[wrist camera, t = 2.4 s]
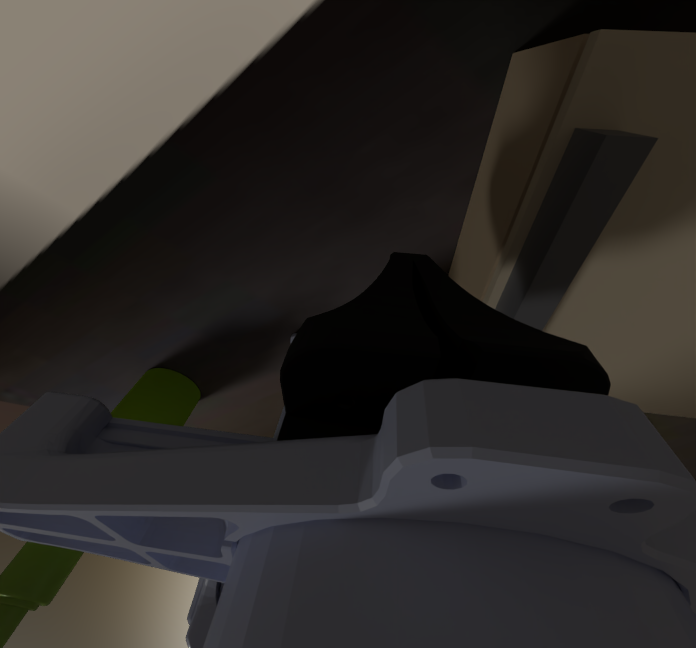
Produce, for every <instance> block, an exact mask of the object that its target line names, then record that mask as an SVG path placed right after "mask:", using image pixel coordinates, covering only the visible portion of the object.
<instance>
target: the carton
mask: <svg viewBox="0 0 696 648" xmlns="http://www.w3.org/2000/svg"><path fill="white" fill-rule="evenodd" d="M589 35H590V34H582V35H578V36H574V37H571V38H567V39H563V40H560V41H556V42H552V43H549V44H545V45H541V46H538V47H534V48H530V49H527V50H523V51H519V52H516V53H513V55H512V58H511V62H510V65H509V69H508V72H507V75H506V79H505V82H504V86H503V89H502V93H501V96H500V99H499V103H498V106H497V110H496V113H495V117H494V120H493V124H492V127H491V130H490V134H489V137H488V141H487V144H486V148H485V151H484V154H483V158H482V161H481V165H480V168H479V172H478V175H477V179H476V182H475V185H474V189H473V192H472V196H471V199H470V203H469V206H468V209H467V213H466V216H465V220H464V223H463V227H462V230H461V234H460V237H459V240H458V244H457V247H456V251H455V254H454V258H453V261H452V265H451V268H450V271H449V275H448V276H449V277H450V278H451V279H452V280H454V281H455V282H456V283H457V284H458V285H460V286H461V287H462V288H463V289H465V290H466V291H467V292H468V293H470V294H471V295H473V296H474V297H476V298H477V299H479V300H480V301H482V302H483V299H484V297H485V294H486V292H487V289H488V287H489V284H490V282H491V279H492V277H493V274H494V272H495V269H496V267H497V264H498V262H499V259H500V257H501V254H502V252H503V249H504V247H505V244H506V242H507V239H508V237H509V234H510V232H511V229H512V227H513V225H514V222H515V220H516V217H517V215H518V212H519V210H520V207H521V205H522V202H523V200H524V197H525V195H526V192H527V190H528V187H529V185H530V182H531V180H532V177H533V175H534V172H535V170H536V167H537V165H538V162H539V160H540V157H541V155H542V152H543V150H544V147H545V145H546V142H547V140H548V137H549V135H550V132H551V130H552V127H553V125H554V122H555V120H556V117H557V115H558V112H559V110H560V107H561V105H562V102H563V100H564V97H565V95H566V92H567V90H568V87H569V85H570V82H571V80H572V77H573V75H574V72H575V70H576V67H577V65H578V62H579V60H580V57H581V55H582V52H583V50H584V47H585V45H586V42H587V40H588V37H589Z"/></svg>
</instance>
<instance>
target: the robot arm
mask: <svg viewBox="0 0 696 648" xmlns="http://www.w3.org/2000/svg"><path fill="white" fill-rule="evenodd" d="M290 341H291V345H290V347H289V349H288V352H287V354H286V357H285V359H284V362H283V365H282V367H281V370H280V383H281V389H282V394H283V400H284V408H283V411H282V414H281V417H280V420H279V423H278V426H277V429H276V432H275V435H274V438H269V437H261V436H253V435H246V434H238V433H230V432H222V431H215V430H207V429H199V428H192V427H184V426H176V425H169V424H161V423H153V422H146V421H138V420H130V419H122V418H115V417H112V415H111V413H110V412H109V410H108V409H107V407H106V406H105V405H104V404H103V403H101V402H100V401H98V400H96V399H94V398H91V397H88V396H81V395H73V394H65V393H57V392H46V393H45V394H44V395H43V396H42V397H41V398H40V399H38V400H37V401H36V402H35V403H34V404H33V405H32V406H31V407H29V408H28V409H27V410H26V411H25V412H24V413H23V414H22V415H20V416H19V417H18V418H17V419H16V420H15V421H14V422H13V423H11V424H10V425H9V426H8V427H7V428H6V429H5V430H3V431H2V432H1V433H0V531H1V532H3V533H5V534H7V535H9V536H12V537H14V538H16V539H18V540H22V541H28V542H33V543H39V544H45V545H51V546H56V547H62V548H67V549H72V550H77V551H82V552H87V553H92V554H97V555H101V556H106V557H110V558H115V559H120V560H124V561H129V562H133V563H138V564H142V565H146V566H151V567H155V568H159V569H164V570H169V571H173V572H177V573H181V574H186V575H190V576H195V577H199V582H198V585H197V588H196V592H195V595H194V598H193V601H192V605H191V607H190V610H189V613H188V617H187V620H188V623H189V625H190V626H189V629H188V632H187V635H186V642H187V645H188V648H696V481H695V479H694V478H693V477H692V476H691V474H690V473H689V472H688V470H687V469H686V468H685V466H684V465H683V464H682V463H681V461H680V460H679V459H678V457H677V456H676V455H675V453H674V452H673V451H672V450H671V448H670V447H669V446H668V444H667V443H666V442H665V440H664V439H663V438H662V437H661V435H660V434H659V433H658V431H657V430H656V429H655V427H654V426H653V425H652V424H651V422H650V421H649V420H648V418H647V417H646V416H645V414H644V413H643V412H642V410H641V409H640V408H639V407H638V405H636V404H633V403H630V402H626V401H623V400H620V399H617V398H614V397H611V396H608V395H609V391H610V386H611V383H610V380H609V376H608V374H607V372H606V371H605V370H604V368H603V367H602V366H601V364H600V363H599V362H598V360H597V359H596V358H595V356H594V355H593V354H592V352H591V351H590V349H589V348H588V347H587V346H586V345H583V344H580V343H577V342H574V341H571V340H567V339H564V338H561V337H558V336H555V335H552V334H549V333H546V332H544V331H541V330H539V329H536V328H534V327H531V326H529V325H526V324H524V323H522V322H519V321H517V320H515V319H513V318H511V317H509V316H507V315H505V314H503V313H501V312H499V311H497V310H495V309H493V308H492V307H490V306H488V305H486V304H485V303H483V302H482V301H480V300H479V299H477V298H476V297H474V296H473V295H471V294H470V293H468V292H467V291H466V290H465V289H463V288H462V287H461V286H460V285H458V284H457V283H456V282H455V281H454V280H452V279H451V278H450V277H449V276H448V275H447V274H446V273H445V272H444V271H443V270H442V269H441V268H440V267H439V266H438V265H437V264H436V263H435V262H434V261H433V260H432V259H431V258H430V257H428V256H427V255H421V254H409V253H397V252H394V253H392V254H391V255H390V260H389V262H388V263H387V265H386V267H385V268H384V270H383V271H382V273H381V274H380V275H379V276H378V278H377V279H376V280H375V281H374V282H373V283H372V284H371V285H370V286H369V287H368V288H367V289H366V290H365V291H364V292H363V293H361V294H360V295H359V296H357V297H356V298H355V299H353V300H352V301H350V302H348V303H346V304H344V305H342V306H340V307H338V308H336V309H334V310H331V311H328V312H325V313H322V314H319V315H316V316H313V317H309V318H307V319H306V320H305V322H304V323H303V325H302V326H301V328H300V329H299V331H298V333H294V334H292V336H291V339H290Z"/></svg>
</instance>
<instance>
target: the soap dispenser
mask: <svg viewBox="0 0 696 648" xmlns="http://www.w3.org/2000/svg"><path fill="white" fill-rule="evenodd" d="M200 397H201V393H200V390H199V388H198V387H197V386H196V384H195V383H194V382H193V381H191V380H190V379H189V378H187V377H186V376H184V375H182V374H180V373H178V372H176V371H173V370H169V369H165V368H153V369H150V370H148V371H147V372H146V373H145V374H144V375H143V376H142V377H141V379H140V380H139V381H138V382H137V383H136V384H135V386H134V387H133V388H132V389H131V390H130V391H129V392H128V394H127V395H126V396H125V397H124V398H123V399H122V401H121V402H120V403H119V404H118V405H117V406H116V408H115V409H114V410H113V411H112V412H111V415H112V417H115V418H122V419H130V420H138V421H146V422H153V423H161V424H169V425H176V426H183V425H184V424H185V422H186V421H187V419H188V417H189V416H190V414H191V412H192V411H193V409H194V408H195V406H196V404H197V403H198V401H199V399H200ZM83 553H84V552H82V551H77V550H72V549H67V548H62V547H56V546H51V545H45V544H39V543H33V542H28V541H27V543H26V544H25V545H24V546H23V547H22V549H21V550H20V551H19V553H18V554H17V555H16V556H15V558H14V559H13V560H12V561H11V563H10V564H9V565H8V566H7V567H6V569H5V570H4V571H3V572H2V574H1V575H0V648H3V646H4V645H5V643H6V642H7V640H8V639H9V637H10V636H11V635H12V633H13V632H14V630H15V629H16V627H17V626H18V625H19V623H20V622H21V620H22V619H23V617H24V616H25V614H26V613H27V612H28V610H33V611H35V610H36V609H37V608H38V607H39V605H41V606H47V605H49V604H50V602H51V601H52V600H53V598H54V596H55V595H56V594H57V592H58V591H59V589H60V588H61V586H62V585H63V583H64V582H65V580H66V578H67V577H68V575H69V574H70V573H71V571H72V570H73V568H74V566H75V565H76V564H77V562H78V560H79V559H80V557H81V556H82V554H83Z"/></svg>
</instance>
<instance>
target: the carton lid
mask: <svg viewBox="0 0 696 648" xmlns="http://www.w3.org/2000/svg"><path fill="white" fill-rule="evenodd" d="M483 303H485V304H486V305H488V306H490V307H492V308H493V309H495V310H497V311H499V312H501V313H503V314H505V315H507V316H509V317H511V318H513V319H515V320H517V321H519V322H522V323H524V324H526V325H529V326H531V327H534V328H536V329H539V330H541V331H544V332H546V333H549V334H552V335H555V336H558V337H561V338H564V339H567V340H571V341H574V342H577V343H580V344H583V345H586V346H587V347H588V348H589V349H590V351H591V352H592V354H593V355H594V356H595V358H596V359H597V360H598V362H599V363H600V364H601V366H602V367H603V368H604V370H605V371H606V372H607V374H608V376H609V380H610V383H611V386H610V391H609V395H608V396H611V397H614V398H617V399H620V400H623V401H626V402H630V403H633V404H636V405H638V407H639V408H640V409H641V410H642V412H646V413H654V414H663V415H671V416H680V417H689V418H696V33H692V32H664V31H636V30H609V29H600V30H597V31H593V32H590V35H589V37H588V40H587V42H586V45H585V47H584V50H583V52H582V55H581V57H580V60H579V62H578V65H577V67H576V70H575V72H574V75H573V77H572V80H571V82H570V85H569V87H568V90H567V92H566V95H565V97H564V100H563V102H562V105H561V107H560V110H559V112H558V115H557V117H556V120H555V122H554V125H553V127H552V130H551V132H550V135H549V137H548V140H547V142H546V145H545V147H544V150H543V152H542V155H541V157H540V160H539V162H538V165H537V167H536V170H535V172H534V175H533V177H532V180H531V182H530V185H529V187H528V190H527V192H526V195H525V197H524V200H523V202H522V205H521V207H520V210H519V212H518V215H517V217H516V220H515V222H514V225H513V227H512V229H511V232H510V234H509V237H508V239H507V242H506V244H505V247H504V249H503V252H502V254H501V257H500V259H499V262H498V264H497V267H496V269H495V272H494V274H493V277H492V279H491V282H490V284H489V287H488V289H487V292H486V294H485V297H484V299H483Z"/></svg>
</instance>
